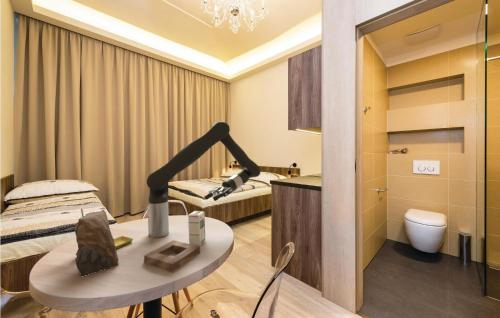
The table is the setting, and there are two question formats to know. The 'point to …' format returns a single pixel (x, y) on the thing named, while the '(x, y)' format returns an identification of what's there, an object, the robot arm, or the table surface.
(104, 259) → the brown rough tall block
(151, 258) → the hole board
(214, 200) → the robot arm
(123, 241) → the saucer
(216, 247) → the table surface
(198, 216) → the syrup box
